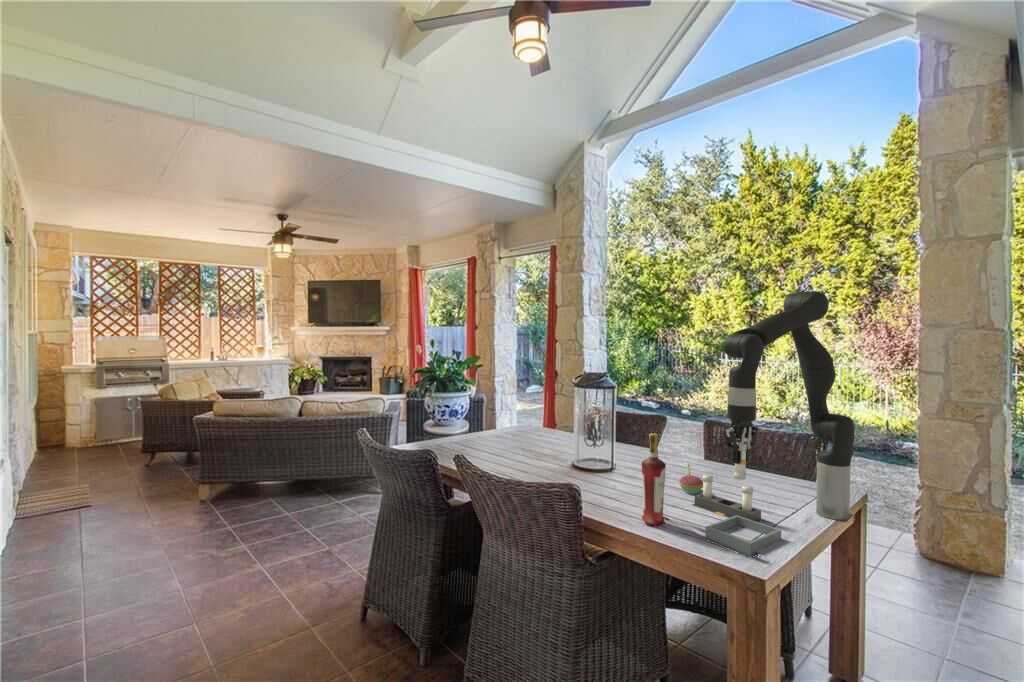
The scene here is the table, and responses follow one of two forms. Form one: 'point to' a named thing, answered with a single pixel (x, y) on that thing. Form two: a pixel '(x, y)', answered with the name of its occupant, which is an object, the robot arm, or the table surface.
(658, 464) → the liquor
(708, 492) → the cylinder
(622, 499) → the table surface
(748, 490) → the cylinder
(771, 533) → the tray
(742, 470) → the cylinder
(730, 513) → the fuse block
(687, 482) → the cupcake
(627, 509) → the table surface
